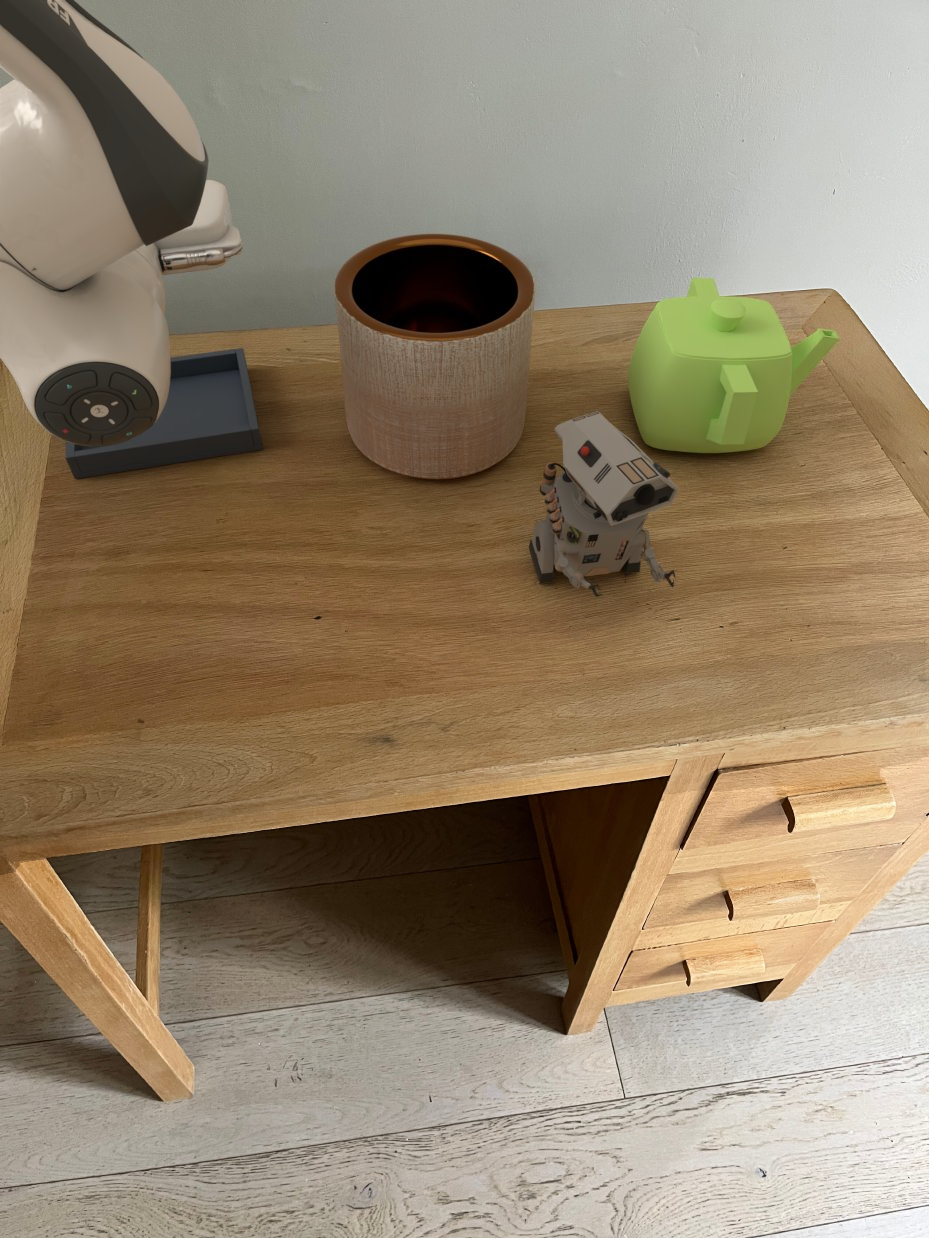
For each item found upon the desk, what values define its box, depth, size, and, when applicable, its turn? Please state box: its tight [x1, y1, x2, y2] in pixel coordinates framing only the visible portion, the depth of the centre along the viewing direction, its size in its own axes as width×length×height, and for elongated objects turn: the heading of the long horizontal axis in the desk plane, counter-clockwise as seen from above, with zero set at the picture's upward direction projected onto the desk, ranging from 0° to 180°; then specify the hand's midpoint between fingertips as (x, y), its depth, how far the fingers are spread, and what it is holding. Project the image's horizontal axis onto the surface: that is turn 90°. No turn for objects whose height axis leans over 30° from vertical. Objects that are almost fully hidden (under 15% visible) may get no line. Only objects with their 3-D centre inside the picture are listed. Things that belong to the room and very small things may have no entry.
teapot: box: [627, 277, 840, 454], centre depth 83 cm, size 18×20×13 cm
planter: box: [333, 233, 536, 480], centre depth 80 cm, size 18×18×16 cm
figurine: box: [528, 410, 680, 598], centre depth 68 cm, size 9×12×15 cm
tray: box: [65, 347, 264, 480], centre depth 85 cm, size 18×14×3 cm
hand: (96, 186), depth 69 cm, fingers closed on beverage cup, 7 cm apart
